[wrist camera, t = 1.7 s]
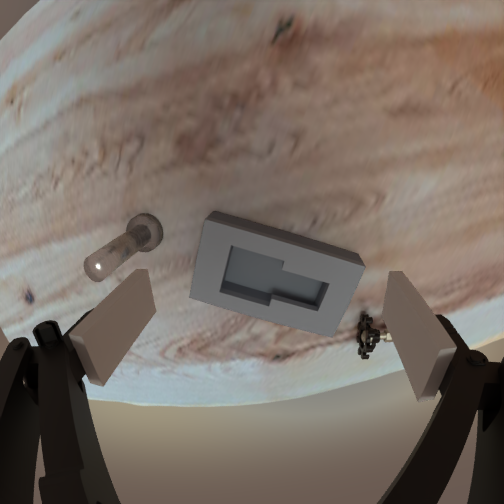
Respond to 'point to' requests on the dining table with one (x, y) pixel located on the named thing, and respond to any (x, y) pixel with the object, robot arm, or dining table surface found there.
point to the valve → (369, 336)
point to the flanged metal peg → (124, 247)
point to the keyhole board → (274, 274)
